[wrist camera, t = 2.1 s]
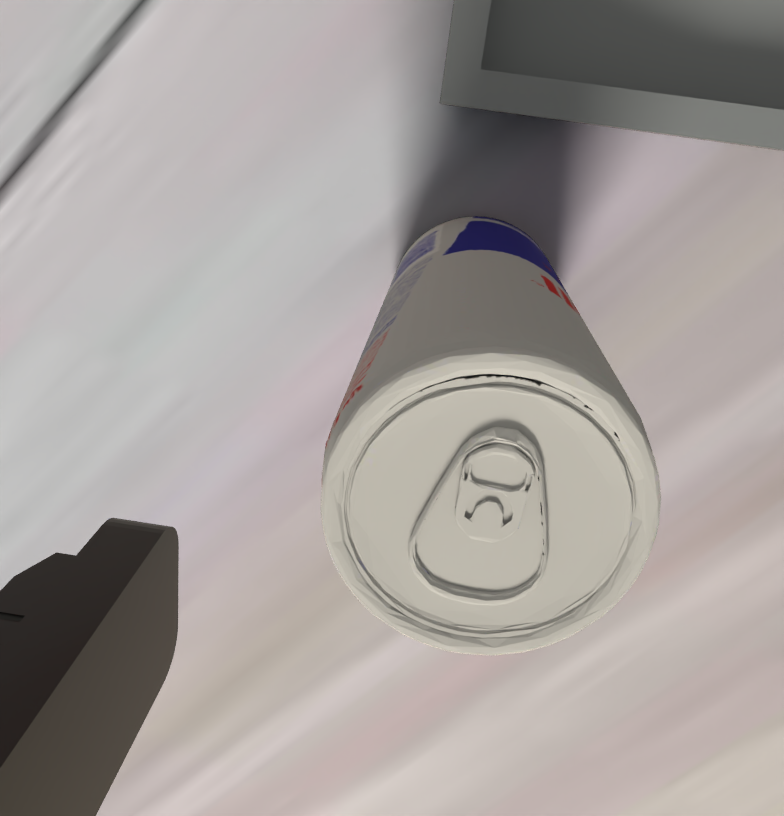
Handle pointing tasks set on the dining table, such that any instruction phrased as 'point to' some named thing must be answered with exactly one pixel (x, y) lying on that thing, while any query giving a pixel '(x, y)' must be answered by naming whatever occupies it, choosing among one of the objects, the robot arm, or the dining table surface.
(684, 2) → the tray
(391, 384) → the beverage can
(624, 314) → the dining table surface
